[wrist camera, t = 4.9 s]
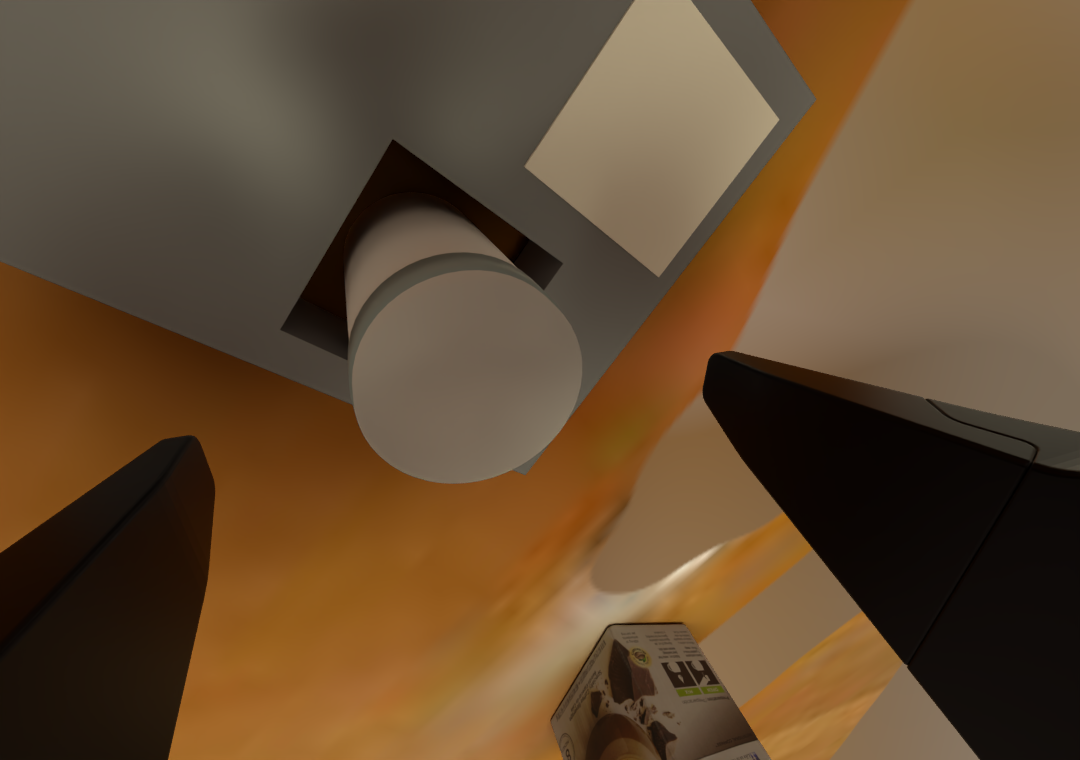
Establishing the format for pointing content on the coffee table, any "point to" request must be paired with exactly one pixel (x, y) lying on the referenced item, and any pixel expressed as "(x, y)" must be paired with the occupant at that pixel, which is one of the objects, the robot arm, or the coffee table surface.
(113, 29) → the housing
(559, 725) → the coffee box
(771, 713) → the coffee table surface
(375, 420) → the cylinder
